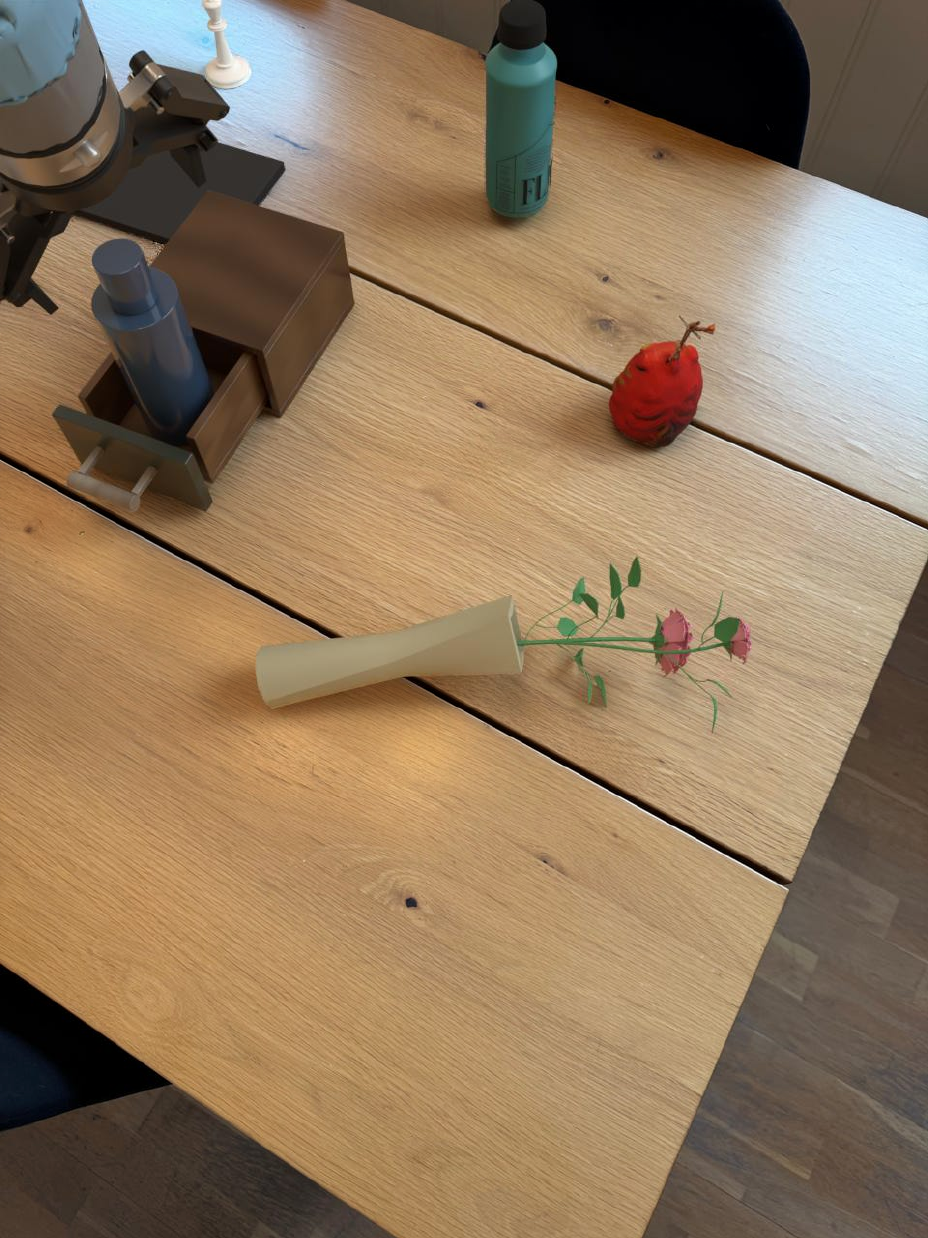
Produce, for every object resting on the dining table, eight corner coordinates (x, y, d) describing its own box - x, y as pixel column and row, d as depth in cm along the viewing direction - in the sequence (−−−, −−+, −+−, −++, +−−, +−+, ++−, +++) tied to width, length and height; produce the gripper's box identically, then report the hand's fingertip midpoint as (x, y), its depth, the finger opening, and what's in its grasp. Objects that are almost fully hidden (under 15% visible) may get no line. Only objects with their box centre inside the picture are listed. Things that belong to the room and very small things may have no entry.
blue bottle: (132, 432, 87) (53, 273, 71) (171, 378, 90) (103, 213, 74) (196, 456, 86) (131, 300, 70) (234, 400, 88) (179, 238, 72)
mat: (62, 210, 102) (58, 202, 101) (136, 124, 108) (133, 116, 107) (217, 261, 99) (215, 253, 98) (285, 169, 105) (284, 161, 104)
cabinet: (281, 417, 90) (262, 351, 82) (150, 371, 93) (120, 302, 85) (354, 303, 96) (343, 231, 88) (229, 263, 99) (208, 189, 91)
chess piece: (233, 53, 113) (212, -39, 104) (260, 74, 111) (241, -18, 103) (197, 73, 112) (172, -19, 103) (224, 95, 110) (201, 3, 101)
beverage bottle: (519, 241, 99) (528, 45, 82) (469, 209, 101) (466, 12, 84) (562, 206, 101) (579, 8, 84) (512, 175, 104) (519, -24, 86)
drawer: (180, 552, 83) (156, 506, 77) (53, 502, 85) (20, 453, 79) (283, 394, 90) (268, 340, 84) (163, 352, 93) (141, 297, 86)
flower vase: (317, 686, 86) (735, 614, 80) (301, 808, 78) (768, 738, 72) (263, 590, 78) (724, 501, 72) (239, 714, 70) (760, 626, 63)
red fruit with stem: (675, 381, 91) (709, 252, 78) (706, 442, 88) (746, 319, 75) (596, 402, 90) (615, 275, 77) (624, 464, 87) (650, 343, 74)
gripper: (-95, 338, 50) (18, 392, 71) (285, 13, 51) (286, 159, 72) (-215, 215, 48) (-63, 307, 69) (180, -116, 50) (212, 71, 71)
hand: (115, 232), depth 71 cm, fingers open, 13 cm apart
